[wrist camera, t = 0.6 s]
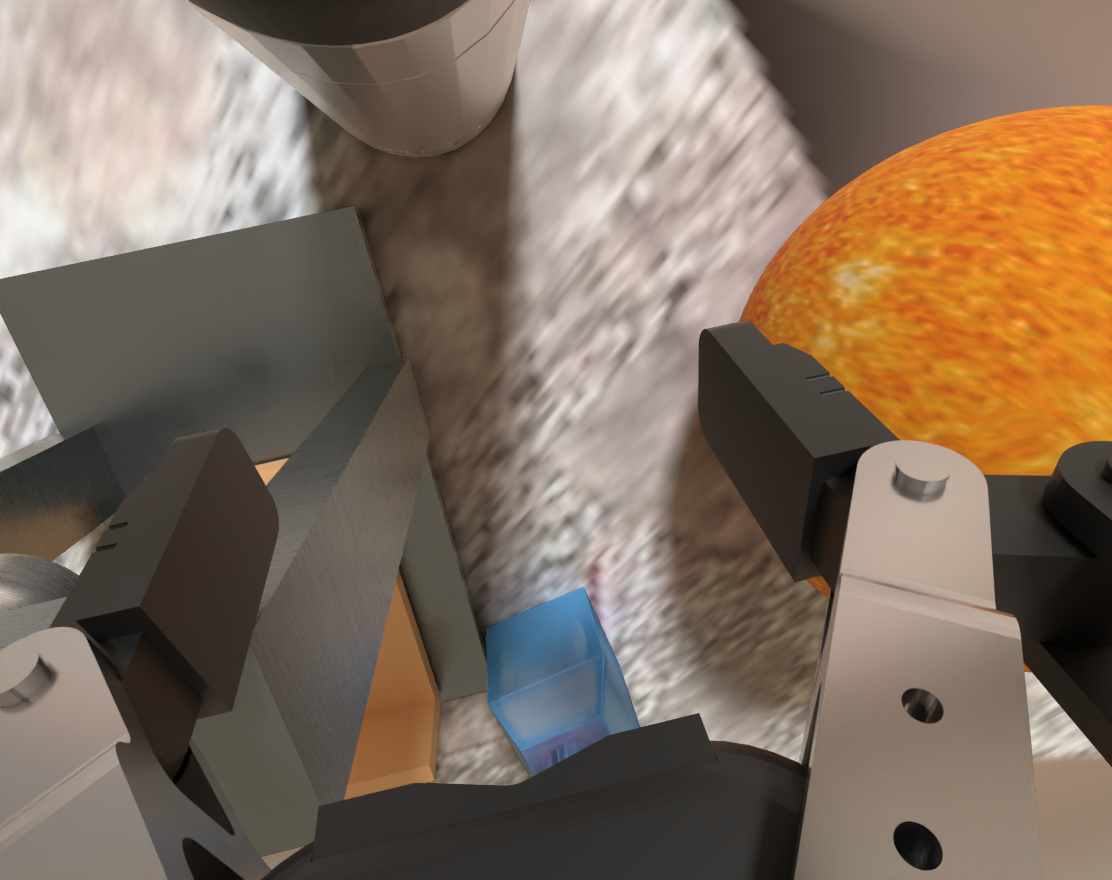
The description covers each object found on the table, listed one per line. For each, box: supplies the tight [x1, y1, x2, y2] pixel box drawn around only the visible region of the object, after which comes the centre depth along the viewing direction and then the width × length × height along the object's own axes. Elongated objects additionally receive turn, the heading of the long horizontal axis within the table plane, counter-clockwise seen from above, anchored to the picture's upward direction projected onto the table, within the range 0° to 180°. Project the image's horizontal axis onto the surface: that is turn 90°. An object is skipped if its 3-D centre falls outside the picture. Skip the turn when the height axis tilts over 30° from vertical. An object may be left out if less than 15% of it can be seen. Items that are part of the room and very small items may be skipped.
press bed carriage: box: [255, 458, 441, 800], centre depth 30 cm, size 16×10×6 cm, turn 11°
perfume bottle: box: [486, 587, 640, 778], centre depth 31 cm, size 6×6×12 cm
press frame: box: [0, 206, 487, 857], centre depth 19 cm, size 27×17×27 cm, turn 11°
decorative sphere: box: [739, 105, 1112, 672], centre depth 24 cm, size 20×20×20 cm
